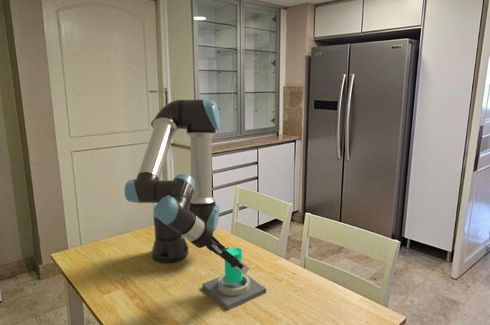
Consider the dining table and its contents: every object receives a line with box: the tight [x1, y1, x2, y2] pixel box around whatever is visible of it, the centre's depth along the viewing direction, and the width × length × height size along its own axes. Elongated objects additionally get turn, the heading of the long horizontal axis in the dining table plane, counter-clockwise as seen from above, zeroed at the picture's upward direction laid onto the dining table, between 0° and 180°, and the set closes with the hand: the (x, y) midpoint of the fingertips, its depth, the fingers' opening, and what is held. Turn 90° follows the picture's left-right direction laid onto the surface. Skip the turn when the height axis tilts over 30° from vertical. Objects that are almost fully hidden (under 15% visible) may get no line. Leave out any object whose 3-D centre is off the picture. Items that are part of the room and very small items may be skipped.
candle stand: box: [201, 273, 267, 310], centre depth 123 cm, size 16×16×4 cm
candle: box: [224, 246, 243, 284], centre depth 121 cm, size 6×6×12 cm
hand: (243, 267), depth 124 cm, fingers closed on candle, 5 cm apart
